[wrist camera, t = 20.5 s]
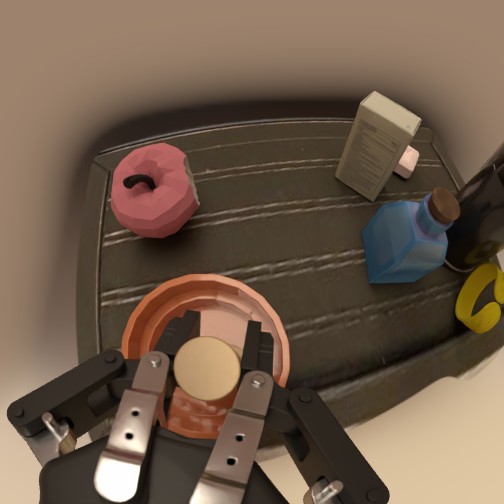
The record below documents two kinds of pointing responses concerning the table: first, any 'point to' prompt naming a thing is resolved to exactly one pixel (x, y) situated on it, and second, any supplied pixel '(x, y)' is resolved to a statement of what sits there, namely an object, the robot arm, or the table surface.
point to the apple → (154, 191)
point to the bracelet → (471, 292)
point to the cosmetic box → (375, 144)
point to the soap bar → (407, 162)
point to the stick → (207, 368)
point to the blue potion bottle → (409, 237)
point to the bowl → (212, 324)
